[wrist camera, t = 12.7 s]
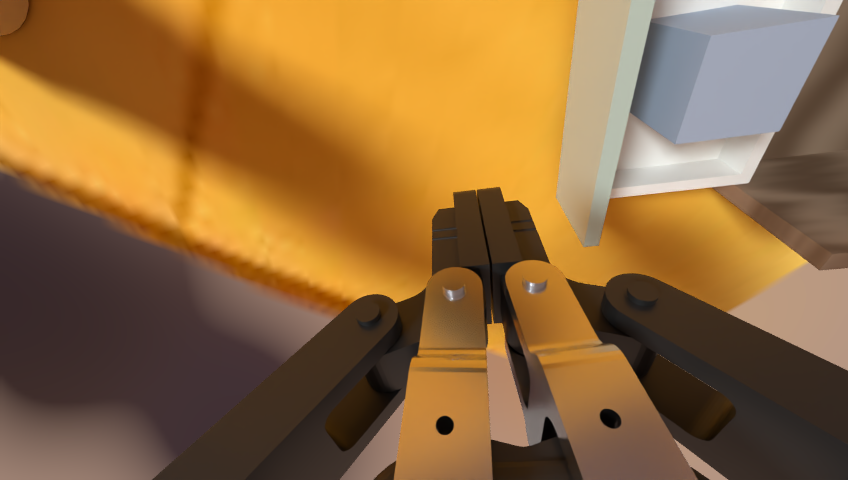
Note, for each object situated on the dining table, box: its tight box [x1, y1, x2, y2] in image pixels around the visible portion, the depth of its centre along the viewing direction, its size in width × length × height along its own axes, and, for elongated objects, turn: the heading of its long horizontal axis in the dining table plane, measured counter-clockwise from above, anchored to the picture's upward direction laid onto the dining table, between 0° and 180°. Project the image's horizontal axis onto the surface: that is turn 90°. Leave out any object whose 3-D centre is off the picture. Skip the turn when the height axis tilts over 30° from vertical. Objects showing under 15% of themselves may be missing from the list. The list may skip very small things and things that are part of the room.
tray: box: [556, 0, 843, 247], centre depth 19 cm, size 12×19×6 cm, turn 8°
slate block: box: [630, 5, 840, 144], centre depth 18 cm, size 5×5×6 cm
